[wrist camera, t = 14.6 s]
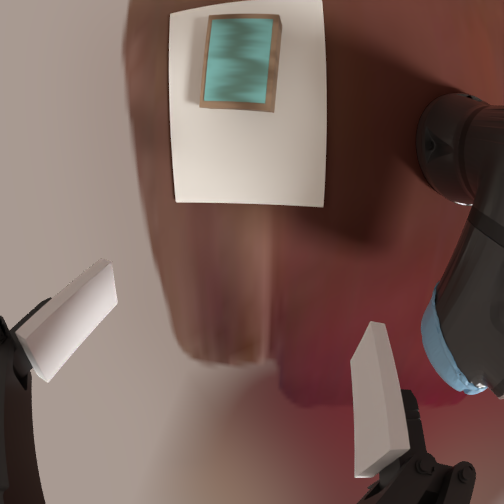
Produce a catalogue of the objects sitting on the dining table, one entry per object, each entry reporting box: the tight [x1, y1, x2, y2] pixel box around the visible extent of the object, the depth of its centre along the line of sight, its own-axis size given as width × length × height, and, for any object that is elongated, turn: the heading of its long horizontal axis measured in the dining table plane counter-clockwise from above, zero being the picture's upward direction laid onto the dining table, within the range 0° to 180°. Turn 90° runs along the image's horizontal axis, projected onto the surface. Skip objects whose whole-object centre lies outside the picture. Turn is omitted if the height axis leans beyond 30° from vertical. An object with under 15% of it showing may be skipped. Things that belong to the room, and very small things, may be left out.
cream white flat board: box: [169, 0, 327, 207], centre depth 31 cm, size 28×20×1 cm
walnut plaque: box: [199, 14, 282, 113], centre depth 27 cm, size 8×4×12 cm
